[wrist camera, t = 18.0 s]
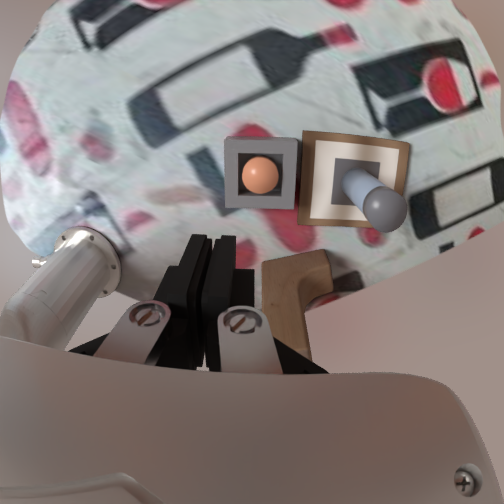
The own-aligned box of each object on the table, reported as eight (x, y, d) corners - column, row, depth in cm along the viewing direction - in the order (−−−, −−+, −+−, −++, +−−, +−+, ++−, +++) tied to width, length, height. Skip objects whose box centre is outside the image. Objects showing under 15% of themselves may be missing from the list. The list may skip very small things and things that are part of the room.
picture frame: (297, 221, 40) (298, 225, 39) (302, 130, 34) (303, 131, 33) (393, 225, 40) (396, 229, 39) (406, 142, 34) (410, 143, 33)
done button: (243, 187, 36) (242, 193, 34) (243, 154, 34) (242, 158, 32) (276, 188, 36) (277, 194, 34) (277, 155, 34) (279, 159, 32)
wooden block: (324, 247, 42) (357, 338, 26) (328, 274, 44) (358, 368, 28) (260, 260, 43) (261, 357, 27) (268, 286, 45) (271, 385, 29)
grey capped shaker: (337, 196, 37) (364, 229, 28) (344, 164, 35) (375, 188, 26) (367, 201, 37) (400, 235, 28) (374, 170, 35) (412, 196, 26)
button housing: (228, 198, 39) (225, 207, 36) (227, 136, 35) (224, 139, 32) (290, 199, 39) (293, 209, 36) (294, 137, 35) (297, 141, 32)
